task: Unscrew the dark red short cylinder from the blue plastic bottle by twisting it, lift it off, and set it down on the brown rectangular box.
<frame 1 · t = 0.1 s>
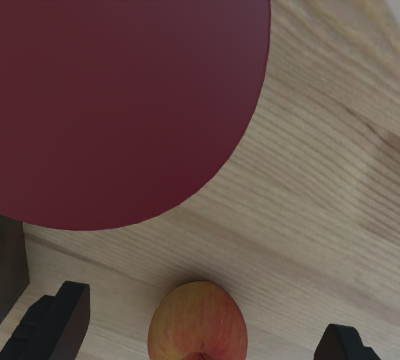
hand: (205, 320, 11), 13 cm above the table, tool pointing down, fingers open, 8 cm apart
dark red short cylinder: (51, 39, 4), point 16 cm above the table, screwed on, not yet turned
apple: (201, 291, 28), on the table
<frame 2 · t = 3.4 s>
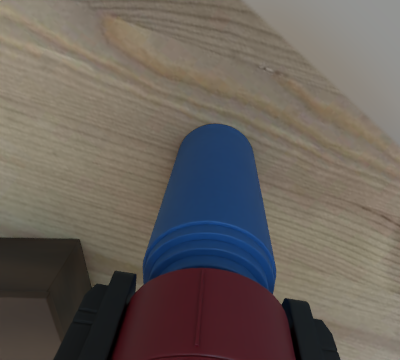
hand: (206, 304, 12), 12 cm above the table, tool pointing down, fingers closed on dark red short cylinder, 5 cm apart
bottle: (215, 160, 23), on the table
brown rectangular box: (55, 307, 31), on the table
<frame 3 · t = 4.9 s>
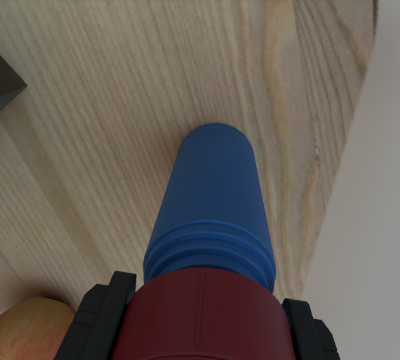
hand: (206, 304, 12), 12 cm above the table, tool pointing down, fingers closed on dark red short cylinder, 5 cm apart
bottle: (215, 159, 23), on the table
apple: (55, 305, 31), on the table
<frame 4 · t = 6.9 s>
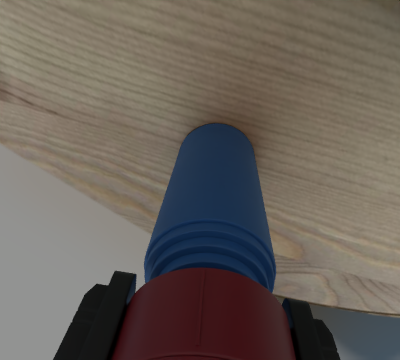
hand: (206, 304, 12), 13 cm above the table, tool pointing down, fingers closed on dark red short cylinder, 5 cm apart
bottle: (216, 159, 23), on the table
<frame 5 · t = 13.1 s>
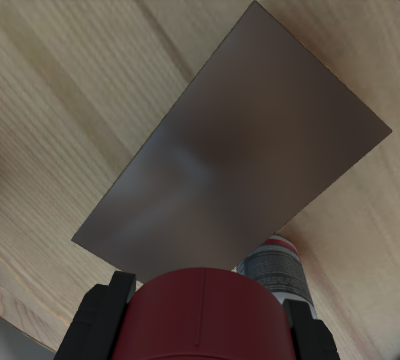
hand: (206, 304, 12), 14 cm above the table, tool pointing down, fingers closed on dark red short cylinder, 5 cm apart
brown rectangular box: (214, 148, 24), on the table
pill bottle: (266, 255, 29), on the table
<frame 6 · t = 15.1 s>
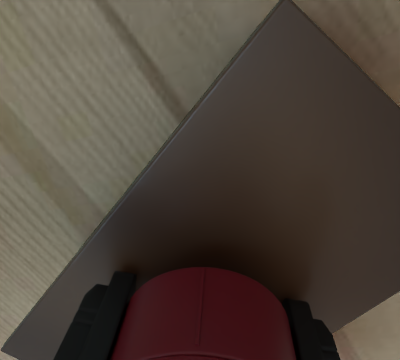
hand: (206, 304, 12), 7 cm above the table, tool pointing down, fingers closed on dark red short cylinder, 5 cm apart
brown rectangular box: (213, 202, 18), on the table
when the fingers open (8 cm above the table, at t = 22.8 s): dark red short cylinder drops 2 cm, resting on brown rectangular box.
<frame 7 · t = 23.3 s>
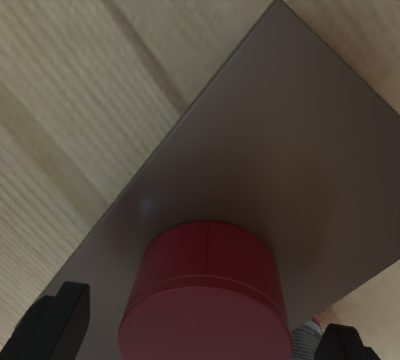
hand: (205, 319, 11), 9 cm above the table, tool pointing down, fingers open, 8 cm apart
dark red short cylinder: (204, 339, 10), point 9 cm above the table, off its thread, touching brown rectangular box
brown rectangular box: (213, 192, 19), on the table
pill bottle: (277, 318, 23), on the table
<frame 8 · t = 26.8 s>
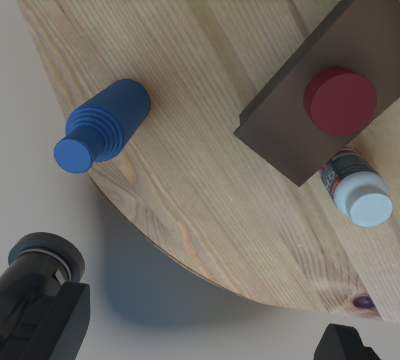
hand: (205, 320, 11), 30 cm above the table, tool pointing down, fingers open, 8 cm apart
bottle: (128, 101, 38), on the table
dark red short cylinder: (341, 104, 28), point 9 cm above the table, off its thread, touching brown rectangular box
brown rectangular box: (314, 82, 36), on the table
pill bottle: (340, 166, 41), on the table
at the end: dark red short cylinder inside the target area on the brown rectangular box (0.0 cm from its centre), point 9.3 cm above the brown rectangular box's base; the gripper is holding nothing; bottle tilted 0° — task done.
